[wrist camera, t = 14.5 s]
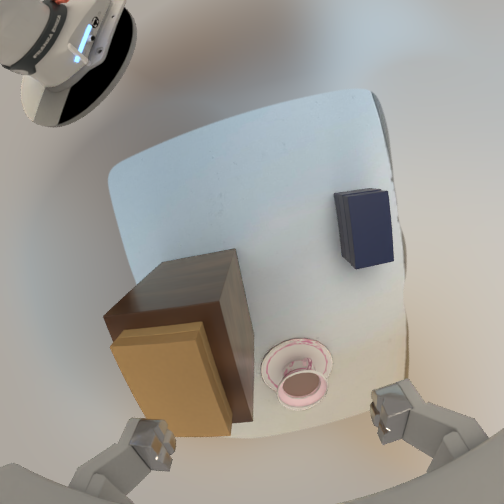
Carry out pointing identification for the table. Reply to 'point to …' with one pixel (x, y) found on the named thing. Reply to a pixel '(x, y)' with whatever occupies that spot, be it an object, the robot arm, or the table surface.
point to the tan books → (175, 378)
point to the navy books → (342, 219)
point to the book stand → (199, 316)
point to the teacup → (298, 372)
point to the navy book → (369, 228)
